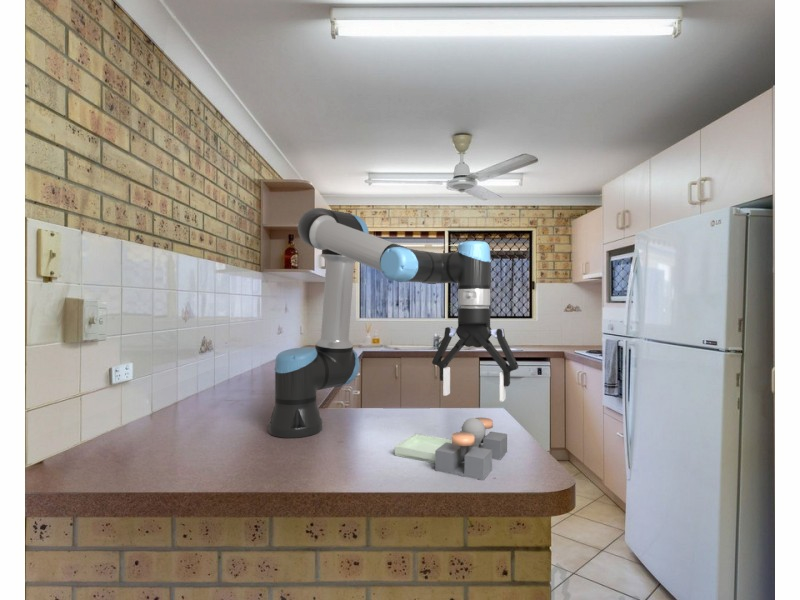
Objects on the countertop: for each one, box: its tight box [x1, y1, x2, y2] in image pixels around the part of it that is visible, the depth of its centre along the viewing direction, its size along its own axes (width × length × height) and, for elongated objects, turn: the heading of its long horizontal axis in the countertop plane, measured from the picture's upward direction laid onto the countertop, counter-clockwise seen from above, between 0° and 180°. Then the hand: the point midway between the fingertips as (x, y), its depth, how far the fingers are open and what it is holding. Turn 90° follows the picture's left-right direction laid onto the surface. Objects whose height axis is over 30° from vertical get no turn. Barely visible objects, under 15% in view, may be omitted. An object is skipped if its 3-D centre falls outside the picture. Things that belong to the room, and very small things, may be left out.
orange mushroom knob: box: [475, 417, 494, 444], centre depth 110 cm, size 5×5×6 cm
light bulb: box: [461, 417, 486, 451], centre depth 104 cm, size 6×6×10 cm
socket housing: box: [434, 430, 508, 481], centre depth 104 cm, size 11×20×4 cm, turn 152°
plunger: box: [451, 431, 475, 463], centre depth 98 cm, size 5×5×6 cm
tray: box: [394, 433, 452, 464], centre depth 110 cm, size 12×12×2 cm
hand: (473, 397), depth 104 cm, fingers open, 13 cm apart
